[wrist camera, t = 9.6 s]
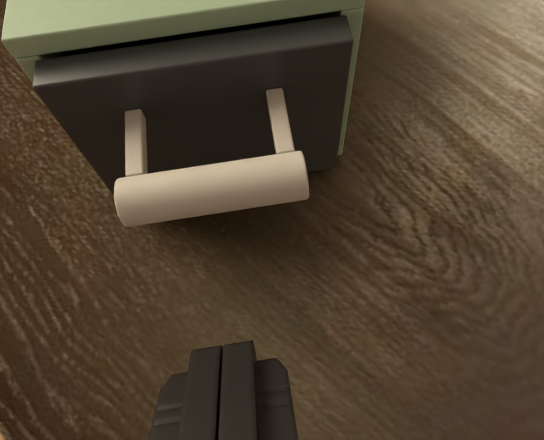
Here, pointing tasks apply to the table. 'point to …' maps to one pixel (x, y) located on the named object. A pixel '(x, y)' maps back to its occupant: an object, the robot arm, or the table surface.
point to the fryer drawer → (205, 114)
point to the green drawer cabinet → (151, 24)
